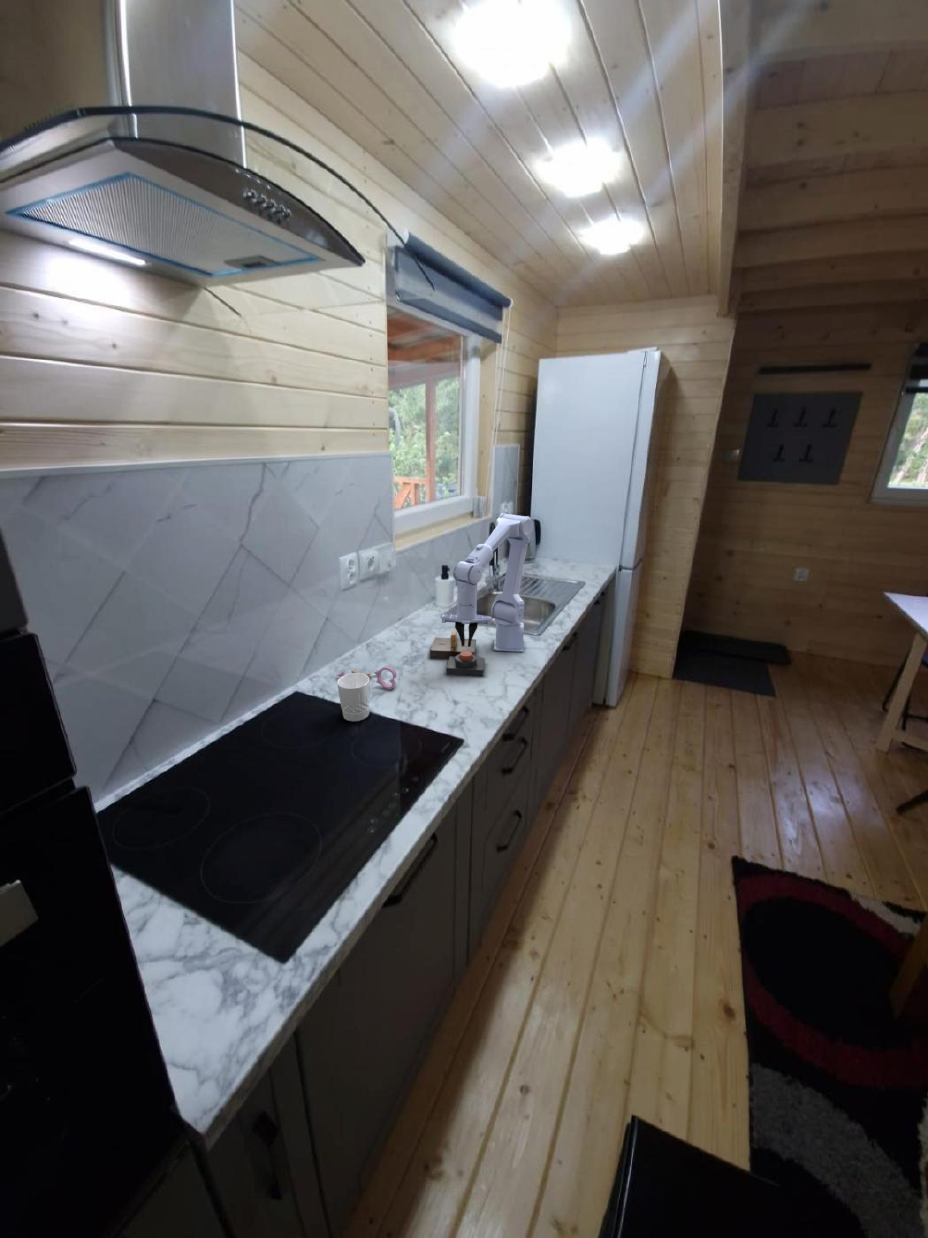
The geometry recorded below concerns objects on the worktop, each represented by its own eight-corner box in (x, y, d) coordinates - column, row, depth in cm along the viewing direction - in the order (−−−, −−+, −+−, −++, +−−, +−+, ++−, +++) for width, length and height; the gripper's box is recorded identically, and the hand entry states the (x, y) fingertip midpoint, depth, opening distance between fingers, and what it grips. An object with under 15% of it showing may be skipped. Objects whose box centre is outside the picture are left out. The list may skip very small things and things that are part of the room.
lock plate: (476, 647, 166) (476, 638, 165) (473, 660, 157) (474, 651, 156) (434, 645, 167) (434, 636, 166) (430, 658, 158) (430, 649, 157)
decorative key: (339, 685, 147) (399, 687, 140) (337, 687, 146) (397, 689, 139) (334, 664, 145) (394, 666, 138) (332, 666, 144) (392, 667, 137)
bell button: (472, 656, 152) (472, 651, 151) (471, 661, 148) (471, 656, 148) (460, 655, 152) (460, 650, 151) (459, 661, 149) (459, 655, 148)
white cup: (377, 714, 128) (375, 680, 124) (352, 727, 123) (349, 691, 119) (359, 703, 133) (357, 670, 129) (334, 714, 127) (331, 680, 124)
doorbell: (484, 664, 155) (484, 652, 153) (483, 676, 147) (483, 664, 146) (449, 662, 156) (449, 651, 154) (446, 674, 148) (446, 662, 147)
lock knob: (452, 641, 163) (452, 629, 161) (456, 641, 163) (457, 629, 161) (450, 647, 159) (450, 635, 157) (455, 647, 159) (455, 635, 157)
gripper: (440, 606, 140) (440, 649, 145) (491, 608, 139) (489, 652, 144) (443, 598, 147) (443, 639, 152) (492, 600, 145) (490, 642, 151)
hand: (466, 645), depth 148 cm, fingers closed
